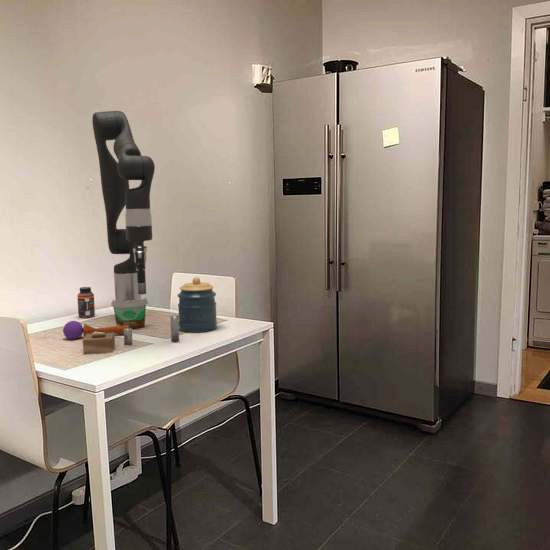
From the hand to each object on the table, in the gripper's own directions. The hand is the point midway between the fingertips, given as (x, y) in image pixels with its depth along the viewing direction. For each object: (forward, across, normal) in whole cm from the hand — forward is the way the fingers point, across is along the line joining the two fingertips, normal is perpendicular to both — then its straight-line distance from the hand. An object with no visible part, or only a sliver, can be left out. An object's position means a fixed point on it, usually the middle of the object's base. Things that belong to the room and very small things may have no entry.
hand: (141, 282), depth 165 cm
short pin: (+19, -1, -5) cm, 20 cm away
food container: (+19, -23, -4) cm, 30 cm away
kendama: (+20, -14, -15) cm, 28 cm away
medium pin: (+19, 0, +9) cm, 21 cm away
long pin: (+4, 0, 0) cm, 4 cm away
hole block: (+19, +3, -13) cm, 23 cm away
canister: (+19, -16, +18) cm, 31 cm away
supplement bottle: (+19, -48, -22) cm, 56 cm away
